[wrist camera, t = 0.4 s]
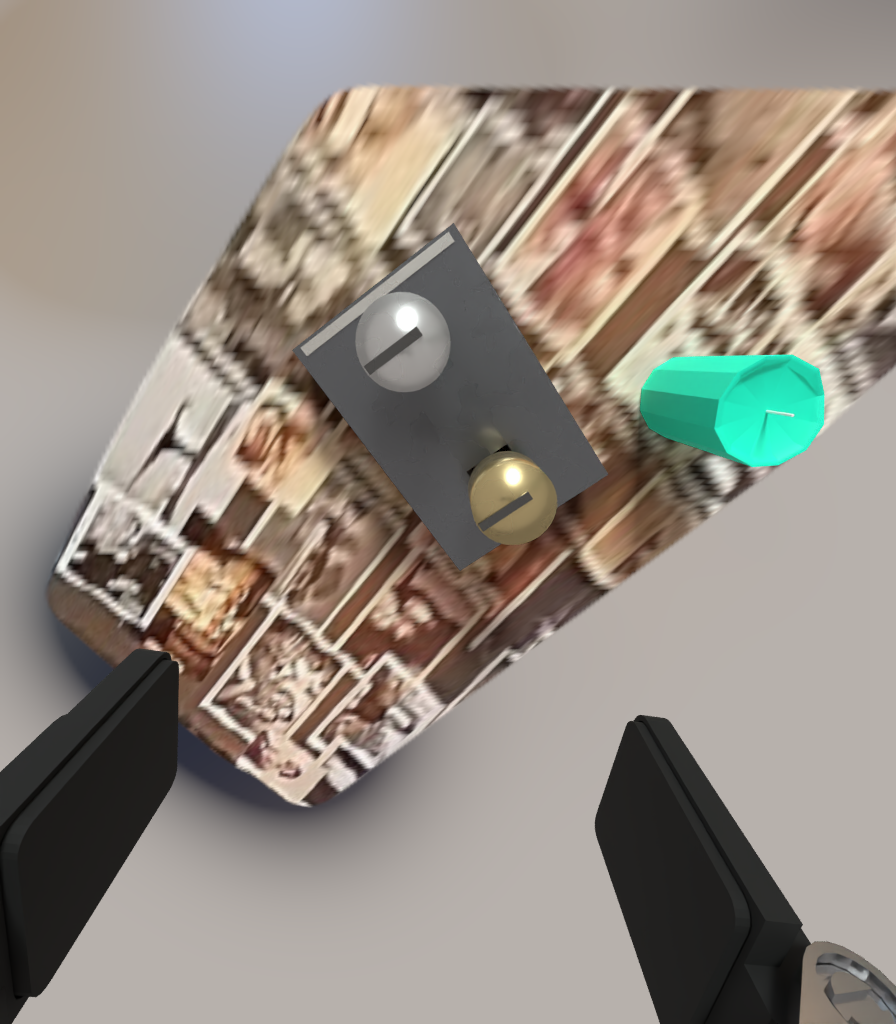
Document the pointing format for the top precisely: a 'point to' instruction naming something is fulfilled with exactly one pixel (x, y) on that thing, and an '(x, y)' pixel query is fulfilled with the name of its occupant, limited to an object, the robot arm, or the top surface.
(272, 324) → the top surface
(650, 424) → the candle
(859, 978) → the robot arm
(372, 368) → the knob
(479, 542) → the mount
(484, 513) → the knob
